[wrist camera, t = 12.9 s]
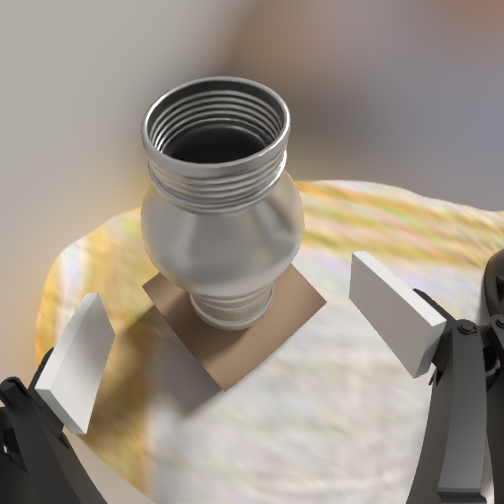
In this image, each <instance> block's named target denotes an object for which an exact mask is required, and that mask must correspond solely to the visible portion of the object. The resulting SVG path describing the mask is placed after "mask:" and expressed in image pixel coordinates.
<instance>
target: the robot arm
mask: <svg viewBox="0 0 504 504" xmlns="http://www.w3.org/2000/svg"><path fill="white" fill-rule="evenodd" d="M485 292H486V299H487V304H488V308H489V312H490V315H491V319H490V321H489V324H488V325H486V326H480V327H478V326H477V325H476V324H475V323H473V322H471V321H469V320H466V319H460V320H455V319H454V318H453V317H452V316H451V315H450V314H449V313H448V312H446V311H445V310H444V309H443V308H442V307H441V306H440V305H437V303H436V302H435V301H434V300H432V299H431V298H430V297H429V296H428V295H427V294H425V293H424V292H422V291H420V290H417V289H411V288H410V287H408V286H407V285H406V284H405V283H404V282H403V281H401V280H400V279H399V278H398V277H397V276H395V275H394V274H393V273H392V272H391V271H389V270H388V269H387V268H386V267H384V266H383V265H382V264H381V263H380V262H378V261H377V260H376V259H375V258H373V257H372V256H371V255H369V254H368V253H367V252H366V251H360V252H354V253H352V265H351V280H350V293H349V298H350V299H351V301H352V302H353V303H354V304H355V305H356V307H357V308H358V309H359V310H360V311H361V313H362V314H363V315H364V316H365V318H366V319H367V320H368V321H369V322H370V324H371V325H372V326H373V327H374V329H375V330H376V331H377V332H378V334H379V335H380V336H381V337H382V339H383V340H384V341H385V342H386V344H387V345H388V346H389V347H390V349H391V350H392V351H393V352H394V354H395V355H396V356H397V358H398V359H399V360H400V361H401V363H402V364H403V365H404V367H405V368H406V369H407V371H408V372H409V373H410V374H411V376H412V377H413V378H416V377H419V376H421V375H423V374H425V373H427V372H428V370H429V367H430V365H431V363H433V364H434V365H435V366H436V369H435V371H434V373H433V375H432V378H431V380H430V382H429V385H431V384H432V382H433V387H432V395H431V402H430V409H429V415H428V421H427V427H426V432H425V437H424V442H423V446H422V451H421V455H420V459H419V463H418V466H417V470H416V474H415V477H414V481H413V484H412V487H411V490H410V493H409V496H408V499H407V502H406V504H487V501H486V498H485V497H484V496H482V495H481V494H480V486H481V480H482V474H483V466H484V457H485V445H486V431H487V437H488V442H489V448H490V455H491V463H492V472H493V483H494V504H504V249H502V250H500V251H499V252H497V253H495V254H494V255H493V256H492V257H491V258H490V260H489V262H488V265H487V268H486V274H485ZM114 338H115V333H114V331H113V328H112V326H111V324H110V321H109V319H108V316H107V314H106V311H105V309H104V306H103V304H102V301H101V299H100V296H99V293H98V292H97V293H90V294H86V295H85V296H84V298H83V300H82V301H81V303H80V304H79V306H78V308H77V309H76V311H75V313H74V314H73V316H72V318H71V319H70V321H69V323H68V325H67V326H66V328H65V330H64V332H63V333H62V335H61V337H60V339H59V341H58V342H57V344H56V346H55V348H51V349H50V350H49V351H48V352H47V353H46V354H45V356H44V358H43V360H42V362H41V364H40V365H39V367H38V371H36V373H35V375H34V377H33V379H32V381H31V384H30V386H29V388H28V390H27V389H26V388H25V386H24V385H23V383H22V382H21V380H20V379H19V378H17V377H10V378H7V379H6V380H4V381H3V382H2V383H1V384H0V400H1V401H2V402H3V403H4V405H5V407H0V504H107V502H106V501H105V500H104V498H103V497H102V495H101V494H100V493H99V491H98V490H97V488H96V487H95V485H94V484H93V482H92V481H91V479H90V477H89V476H88V474H87V473H86V471H85V469H84V468H83V466H82V464H81V463H80V461H79V459H78V457H77V456H76V454H75V452H74V450H73V448H72V447H71V445H70V443H69V441H68V439H67V437H66V435H65V434H64V433H63V432H62V430H63V426H64V425H65V426H66V428H67V429H68V430H69V431H70V432H71V433H76V434H85V435H86V433H87V429H88V425H89V421H90V417H91V413H92V409H93V405H94V402H95V398H96V395H97V391H98V388H99V384H100V381H101V378H102V374H103V371H104V368H105V365H106V362H107V359H108V356H109V353H110V350H111V347H112V344H113V341H114ZM498 361H500V364H501V366H500V368H499V367H498V364H497V363H498ZM4 446H5V447H6V448H7V453H5V451H4Z"/></svg>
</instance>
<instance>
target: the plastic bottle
mask: <svg viewBox="0 0 504 504" xmlns="http://www.w3.org/2000/svg"><path fill="white" fill-rule="evenodd" d="M290 121H291V120H290V112H289V110H288V107H287V105H286V103H285V102H284V101H283V100H282V98H281V97H280V96H279V95H278V94H276V93H275V92H274V91H273V90H271V89H270V88H267V87H266V86H264V85H262V84H260V83H257V82H254V81H251V80H247V79H243V78H237V77H208V78H201V79H197V80H193V81H189V82H187V83H184V84H181V85H179V86H177V87H175V88H173V89H171V90H169V91H167V92H166V93H164V94H163V95H162V96H160V97H159V98H158V99H157V100H156V101H155V102H154V103H153V104H152V105H151V106H150V107H149V109H148V110H147V112H146V113H145V116H144V118H143V121H142V128H141V133H142V141H143V145H144V148H145V151H146V154H147V157H148V168H149V172H150V176H151V179H152V183H151V185H150V186H149V188H148V190H147V193H146V195H145V197H144V199H143V204H142V209H141V230H142V239H143V243H144V246H145V250H146V252H147V254H148V256H149V258H150V260H151V262H152V263H153V265H154V266H155V267H156V268H157V269H158V270H159V271H160V273H161V274H162V275H163V276H164V277H166V278H167V279H168V280H169V281H171V282H172V283H173V284H175V285H176V286H178V287H179V288H181V289H182V290H184V291H187V292H189V294H190V299H191V303H192V305H193V308H194V310H195V311H196V313H197V314H198V316H199V317H200V318H201V319H202V320H203V321H205V322H206V323H207V324H209V325H210V326H213V327H215V328H218V329H222V330H226V331H236V330H242V329H245V328H248V327H251V326H253V325H254V324H256V323H257V322H259V321H260V320H261V319H262V318H263V317H264V316H265V315H266V314H267V312H268V311H269V309H270V307H271V305H272V302H273V297H274V281H275V280H276V279H277V278H278V277H279V276H280V275H281V274H282V273H283V272H284V271H285V270H286V268H287V267H288V266H289V264H290V263H291V261H292V260H293V258H294V257H295V255H296V254H297V252H298V250H299V247H300V244H301V242H302V239H303V233H304V226H305V224H304V212H303V206H302V201H301V198H300V195H299V192H298V189H297V187H296V185H295V183H294V182H293V180H292V179H291V177H290V176H289V174H288V173H287V172H286V171H285V167H286V162H287V142H288V138H289V133H290V128H291V124H290Z"/></svg>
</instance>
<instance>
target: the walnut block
mask: <svg viewBox="0 0 504 504" xmlns="http://www.w3.org/2000/svg"><path fill="white" fill-rule="evenodd" d="M142 287H143V289H144V290H145V292H146V293H147V294H148V296H149V297H150V299H151V300H152V301H153V303H154V304H155V306H156V307H157V308H158V310H159V311H160V313H161V314H162V315H163V317H164V318H165V319H166V321H167V322H168V323H169V325H170V326H171V327H172V329H173V330H174V331H175V333H176V334H177V335H178V336H179V338H180V339H181V340H182V342H183V343H184V344H185V345H186V347H187V348H188V349H189V350H190V352H191V353H192V354H193V355H194V356H195V358H196V359H197V360H198V361H199V363H200V364H201V365H202V366H203V367H204V368H205V370H206V371H207V372H208V373H209V374H210V375H211V377H212V378H213V379H214V380H215V381H216V382H217V384H218V385H219V386H220V387H221V388H222V389H223V390H224V391H227V390H228V389H229V388H230V387H232V386H233V385H234V384H235V383H237V382H238V381H239V380H240V379H242V378H243V377H244V376H245V375H246V374H248V373H249V372H250V371H251V370H252V369H254V368H255V367H256V366H257V365H258V364H260V363H261V362H262V361H263V360H264V359H266V358H267V357H268V356H269V355H270V354H271V353H272V352H274V351H275V350H276V349H277V348H278V347H279V346H280V345H282V344H283V343H284V342H285V341H286V340H287V339H288V338H289V337H290V336H292V335H293V334H294V333H295V332H296V331H297V330H298V329H299V328H300V327H301V326H302V325H304V324H305V323H306V322H307V321H308V320H309V319H310V318H311V317H312V316H313V315H314V314H315V313H316V312H317V311H318V310H319V309H320V308H321V307H322V306H324V305H325V304H326V303H327V302H326V301H325V299H324V298H323V297H322V296H321V295H320V294H319V293H318V292H317V291H316V290H315V289H314V288H313V286H312V285H311V284H310V283H309V282H308V281H307V280H306V279H305V278H304V277H303V276H302V275H301V274H300V273H299V271H298V270H297V269H296V268H295V267H294V266H293V265H292V264H291V263H290V264H289V266H288V267H287V268H286V270H285V271H284V272H283V273H282V274H281V275H280V276H279V277H278V278H277V279H276V280H275V281H274V297H273V302H272V305H271V307H270V309H269V311H268V312H267V314H266V315H265V316H264V317H263V318H262V319H261V320H260V321H259V322H257V323H256V324H254V325H253V326H251V327H248V328H245V329H242V330H236V331H226V330H222V329H218V328H215V327H213V326H210V325H209V324H207V323H206V322H205V321H203V320H202V319H201V318H200V317H199V316H198V314H197V313H196V311H195V310H194V308H193V305H192V303H191V299H190V294H189V292H187V291H184V290H182V289H181V288H179V287H178V286H176V285H175V284H173V283H172V282H171V281H169V280H168V279H167V278H166V277H164V276H163V275H162V274H161V273H160V272H159V273H158V274H157V275H156V276H154V277H153V278H152V279H150V280H149V281H148V282H147V283H145V284H144V285H143V286H142Z"/></svg>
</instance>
